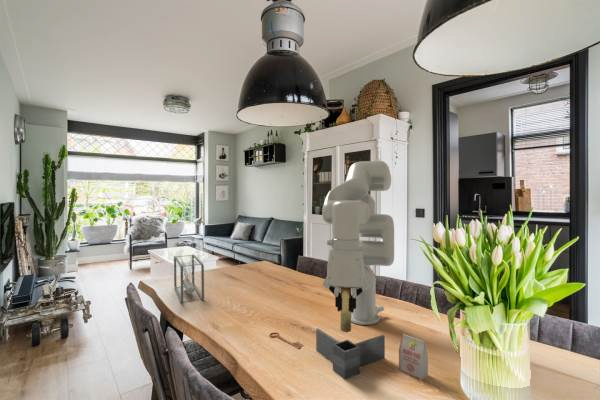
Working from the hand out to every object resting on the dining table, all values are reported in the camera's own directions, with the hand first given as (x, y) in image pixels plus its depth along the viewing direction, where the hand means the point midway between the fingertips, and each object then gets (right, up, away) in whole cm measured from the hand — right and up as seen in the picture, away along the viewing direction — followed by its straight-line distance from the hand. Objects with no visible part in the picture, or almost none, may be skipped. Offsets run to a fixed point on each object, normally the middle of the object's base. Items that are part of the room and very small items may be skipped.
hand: (345, 309), depth 89 cm
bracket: (+2, -18, +9) cm, 20 cm away
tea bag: (+19, -18, 0) cm, 26 cm away
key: (-17, -18, +21) cm, 32 cm away
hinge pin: (0, -6, 0) cm, 6 cm away
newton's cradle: (-70, -17, +72) cm, 102 cm away
